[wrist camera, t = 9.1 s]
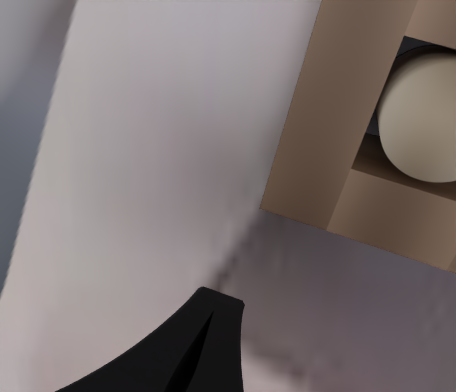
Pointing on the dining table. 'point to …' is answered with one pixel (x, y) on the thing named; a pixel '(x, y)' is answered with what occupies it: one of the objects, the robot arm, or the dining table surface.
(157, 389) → the robot arm
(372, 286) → the dining table surface
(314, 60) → the walnut block
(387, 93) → the peg
